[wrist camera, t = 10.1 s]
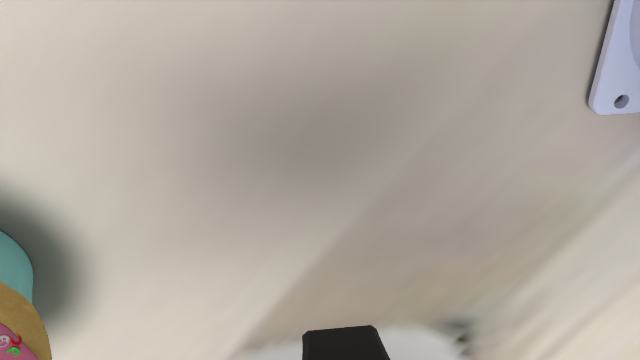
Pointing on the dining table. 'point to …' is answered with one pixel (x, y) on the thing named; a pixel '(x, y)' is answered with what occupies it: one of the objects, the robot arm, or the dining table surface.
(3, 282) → the cupcake
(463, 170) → the dining table surface
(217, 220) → the dining table surface
